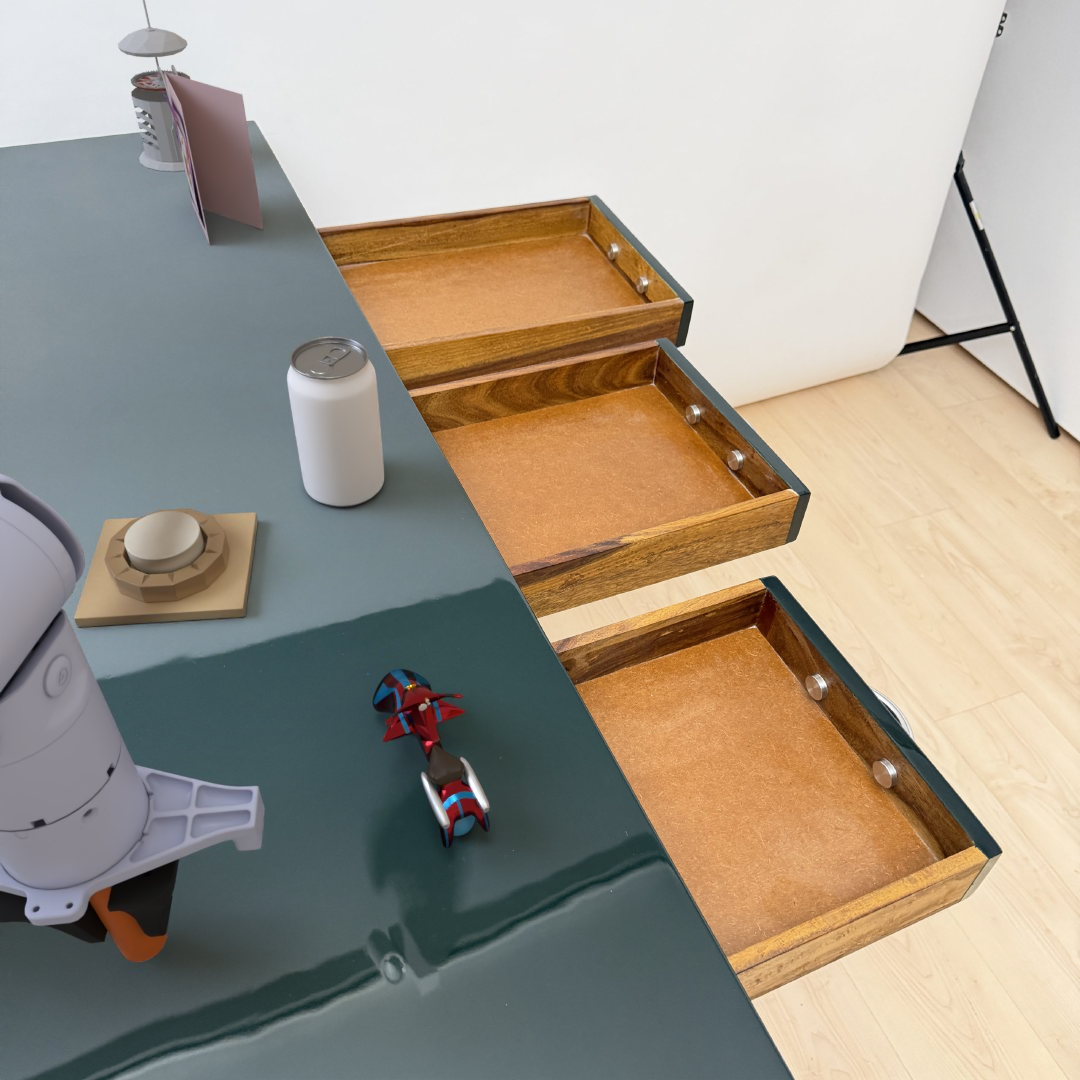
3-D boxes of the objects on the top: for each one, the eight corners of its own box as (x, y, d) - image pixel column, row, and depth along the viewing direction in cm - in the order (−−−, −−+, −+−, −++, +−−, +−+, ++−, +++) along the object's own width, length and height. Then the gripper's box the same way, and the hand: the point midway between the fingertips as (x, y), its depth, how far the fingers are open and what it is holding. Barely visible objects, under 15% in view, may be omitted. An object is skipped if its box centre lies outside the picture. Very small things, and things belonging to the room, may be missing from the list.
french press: (202, 139, 125) (160, -76, 108) (230, 169, 118) (190, -56, 101) (129, 150, 121) (73, -72, 103) (154, 181, 114) (98, -51, 97)
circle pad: (123, 577, 61) (117, 561, 60) (136, 528, 65) (131, 512, 64) (199, 573, 62) (194, 557, 61) (208, 524, 66) (204, 508, 65)
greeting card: (185, 206, 109) (156, 72, 99) (247, 198, 112) (225, 67, 101) (201, 246, 102) (172, 106, 91) (267, 237, 104) (246, 100, 94)
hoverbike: (432, 680, 59) (430, 624, 55) (509, 833, 51) (513, 780, 48) (357, 706, 57) (349, 650, 53) (425, 869, 50) (422, 817, 46)
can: (288, 495, 72) (265, 367, 63) (331, 451, 76) (315, 325, 68) (359, 519, 70) (344, 390, 62) (399, 472, 74) (390, 346, 66)
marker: (115, 966, 44) (58, 880, 38) (124, 919, 46) (71, 830, 39) (164, 960, 44) (116, 875, 38) (171, 914, 46) (127, 825, 40)
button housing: (77, 627, 61) (65, 602, 59) (108, 527, 68) (99, 502, 66) (245, 617, 62) (239, 592, 60) (258, 520, 69) (252, 496, 68)
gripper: (-222, 883, 30) (-60, 1026, 39) (227, 842, 32) (280, 987, 41) (-137, 711, 35) (-11, 873, 44) (246, 684, 37) (289, 845, 46)
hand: (131, 918), depth 43 cm, fingers closed on marker, 2 cm apart
